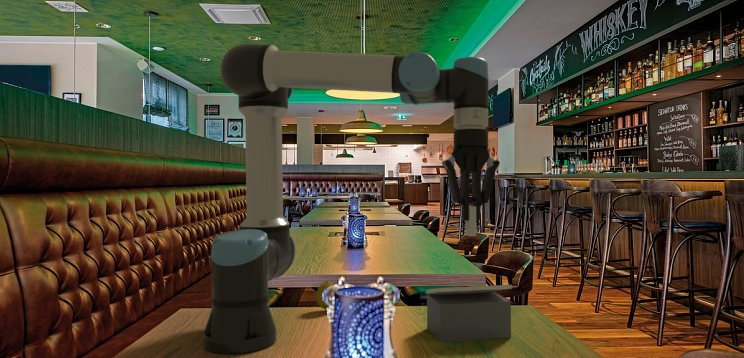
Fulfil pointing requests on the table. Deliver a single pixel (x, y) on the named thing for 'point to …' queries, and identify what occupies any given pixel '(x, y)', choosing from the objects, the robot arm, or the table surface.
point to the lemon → (319, 293)
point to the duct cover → (468, 289)
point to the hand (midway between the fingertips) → (470, 235)
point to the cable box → (468, 316)
